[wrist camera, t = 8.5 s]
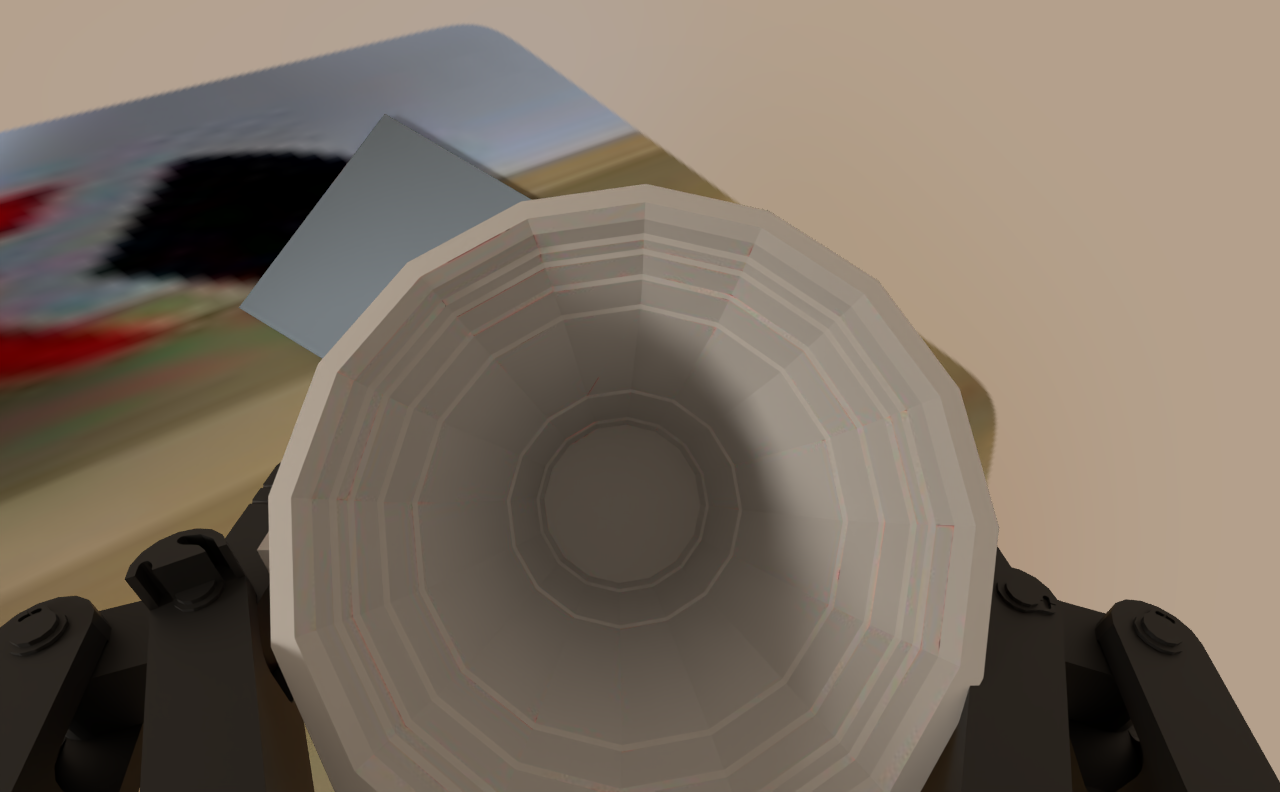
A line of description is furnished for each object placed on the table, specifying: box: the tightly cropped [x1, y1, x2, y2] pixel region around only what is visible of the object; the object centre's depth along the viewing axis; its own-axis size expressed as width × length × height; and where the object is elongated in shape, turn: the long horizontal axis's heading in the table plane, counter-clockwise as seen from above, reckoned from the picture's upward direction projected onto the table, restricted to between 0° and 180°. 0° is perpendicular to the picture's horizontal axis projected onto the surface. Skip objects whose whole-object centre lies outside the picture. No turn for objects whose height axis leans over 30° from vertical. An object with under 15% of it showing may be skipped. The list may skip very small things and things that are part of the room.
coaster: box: [239, 114, 531, 358], centre depth 33 cm, size 14×14×1 cm
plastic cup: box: [268, 184, 999, 792], centre depth 14 cm, size 11×11×12 cm
